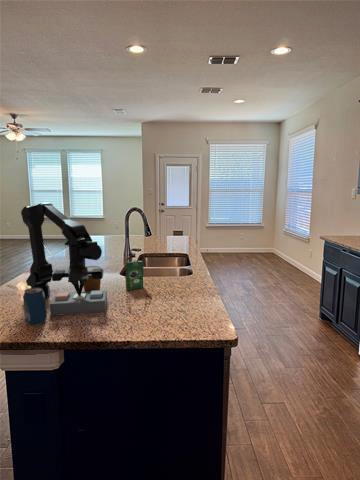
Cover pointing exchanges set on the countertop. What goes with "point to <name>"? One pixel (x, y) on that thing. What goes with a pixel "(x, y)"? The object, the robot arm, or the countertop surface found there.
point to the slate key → (96, 294)
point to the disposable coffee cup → (92, 281)
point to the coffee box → (134, 275)
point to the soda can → (34, 306)
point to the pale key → (83, 296)
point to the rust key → (62, 296)
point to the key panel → (78, 304)
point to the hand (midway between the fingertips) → (79, 295)
